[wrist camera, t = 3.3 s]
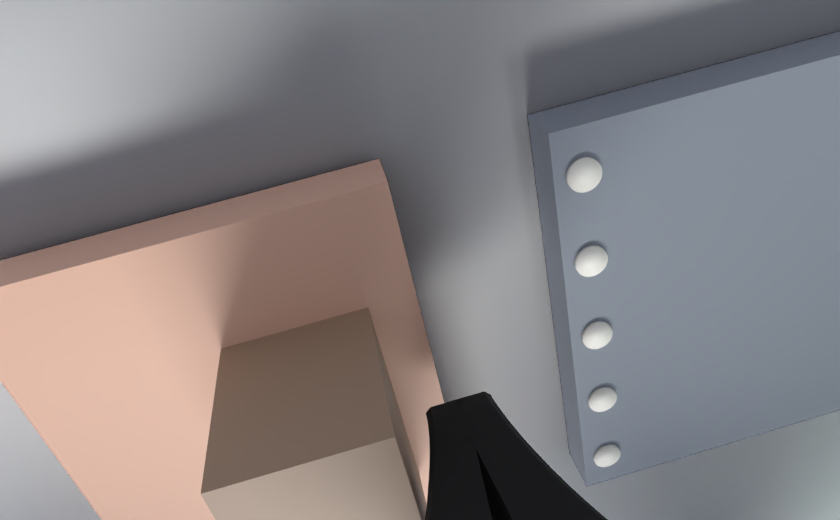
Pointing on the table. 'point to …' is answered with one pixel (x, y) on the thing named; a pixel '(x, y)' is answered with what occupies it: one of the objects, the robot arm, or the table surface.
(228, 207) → the stub
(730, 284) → the board
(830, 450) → the table surface
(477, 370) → the table surface
